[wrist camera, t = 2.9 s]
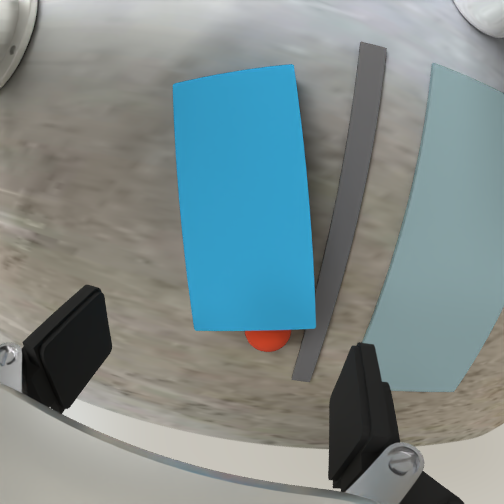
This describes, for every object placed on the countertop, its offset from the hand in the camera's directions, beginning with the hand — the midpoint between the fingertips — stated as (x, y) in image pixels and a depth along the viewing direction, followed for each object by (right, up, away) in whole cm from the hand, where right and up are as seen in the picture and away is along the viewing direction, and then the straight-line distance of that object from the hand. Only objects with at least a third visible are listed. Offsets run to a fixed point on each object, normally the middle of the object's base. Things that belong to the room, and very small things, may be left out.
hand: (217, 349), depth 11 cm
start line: (+7, +4, +10) cm, 13 cm away
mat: (+17, +2, +9) cm, 19 cm away
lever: (+2, +6, +10) cm, 12 cm away
